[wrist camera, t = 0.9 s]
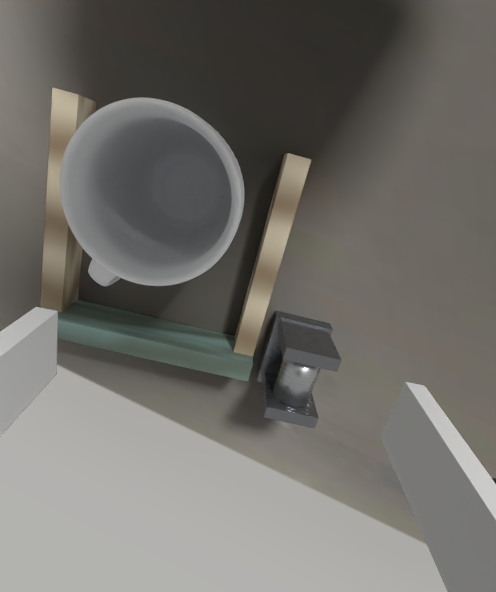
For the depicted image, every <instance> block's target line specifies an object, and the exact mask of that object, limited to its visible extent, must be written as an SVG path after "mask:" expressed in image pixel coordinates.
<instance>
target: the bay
mask: <svg viewBox="0 0 496 592" xmlns="http://www.w3.org/2000/svg"><path fill="white" fill-rule="evenodd" d="M96 107H97V102H95V101H93V100H90V99H88V98H85V97H83V96H81V95H78V94H74V93H71V92H67V91H63V90H60V89H56V88H53V90H52V108H51V125H50V143H49V160H48V178H47V195H46V213H45V230H44V248H43V265H42V283H41V300H40V308H45V309H50V310H55V311H58V325H57V339H60V340H64V341H69V342H73V343H78V344H82V345H87V346H91V347H96V348H100V349H105V350H109V351H114V352H118V353H123V354H127V355H131V356H136V357H140V358H145V359H149V360H154V361H158V362H163V363H167V364H172V365H176V366H181V367H185V368H190V369H194V370H199V371H203V372H208V373H212V374H216V375H221V376H225V377H230V378H234V379H239V380H243V381H248V379H249V376H250V372H251V369H252V366H253V354H254V351H255V348H256V344H257V341H258V337H259V334H260V331H261V327H262V324H263V321H264V317H265V314H266V311H267V307H268V304H269V300H270V297H271V294H272V290H273V287H274V284H275V280H276V277H277V274H278V270H279V267H280V263H281V260H282V257H283V253H284V250H285V247H286V243H287V240H288V236H289V233H290V230H291V226H292V223H293V220H294V216H295V213H296V210H297V206H298V203H299V199H300V196H301V193H302V189H303V186H304V183H305V179H306V176H307V173H308V169H309V166H310V162H311V159H308V158H304V157H300V156H297V155H293V154H290V153H287V154H284V157H283V161H282V164H281V168H280V172H279V175H278V179H277V183H276V186H275V190H274V194H273V198H272V201H271V205H270V209H269V212H268V216H267V220H266V223H265V227H264V231H263V234H262V238H261V242H260V246H259V249H258V253H257V257H256V260H255V264H254V268H253V271H252V275H251V279H250V282H249V286H248V290H247V293H246V297H245V301H244V305H243V308H242V312H241V316H240V319H239V323H238V327H237V330H236V334H235V336H232V335H228V334H224V333H219V332H215V331H211V330H207V329H202V328H198V327H194V326H189V325H185V324H181V323H177V322H172V321H168V320H164V319H159V318H155V317H151V316H147V315H142V314H138V313H134V312H129V311H125V310H121V309H117V308H112V307H108V306H104V305H99V304H95V303H91V302H87V301H82V300H78V294H79V283H80V273H81V262H82V252H83V248H82V247H81V245H80V244H79V242H78V241H77V239H76V238H75V236H74V234H73V233H72V231H71V229H70V227H69V225H68V222H67V219H66V217H65V213H64V210H63V206H62V202H61V195H60V182H59V181H60V169H61V163H62V159H63V156H64V152H65V150H66V147H67V145H68V143H69V141H70V139H71V138H72V136H73V134H74V133H75V132H76V130H77V129H78V128H79V126H80V125H81V124H82V123H83V122H84V121H85V120H86V119H87V118H88V117H89V116H90V115H92V114H93V113H95V112H96Z"/></svg>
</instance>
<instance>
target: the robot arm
mask: <svg viewBox="0 0 496 592" xmlns="http://www.w3.org/2000/svg"><path fill="white" fill-rule="evenodd" d="M57 325H58V311H55V310H50V309H45V308H40V307H35V308H34V309H32V310H31V311H29V312H28V313H26V314H25V315H24V316H22V317H21V318H19V319H18V320H16V321H15V322H13V323H12V324H11V325H9V326H8V327H6V328H5V329H3V330H2V331H1V332H0V436H1V435H2V434H3V433H4V432H5V431H6V430H7V429H8V428H9V426H10V425H11V424H12V423H13V422H14V421H15V420H16V419H17V418H18V416H19V415H20V414H21V413H22V412H23V411H24V410H25V409H26V408H27V406H28V405H29V404H30V403H31V402H32V401H33V400H34V399H35V397H37V395H38V394H39V393H40V392H41V391H42V390H43V389H44V388H45V387H46V385H47V384H48V383H49V382H50V381H51V380H52V379H53V377H54V376H56V373H57V371H56V370H57ZM380 438H381V440H382V443H383V445H384V447H385V449H386V452H387V454H388V456H389V459H390V461H391V463H392V465H393V468H394V470H395V472H396V475H397V477H398V479H399V482H400V484H401V486H402V488H403V491H404V493H405V495H406V498H407V500H408V502H409V504H410V507H411V509H412V511H413V514H414V516H415V518H416V520H417V523H418V525H419V527H420V530H421V532H422V534H423V536H424V539H425V541H426V543H427V546H428V547H429V550H430V552H431V555H432V557H433V559H434V561H435V564H436V566H437V568H438V571H439V573H440V575H441V577H442V580H443V582H444V584H445V587H446V589H447V591H448V592H496V479H494V478H491V477H490V475H489V474H488V473H487V471H486V470H485V469H484V467H483V466H482V464H481V463H480V462H479V460H478V459H477V457H476V456H475V455H474V453H473V452H472V451H471V449H470V448H469V446H468V445H467V444H466V442H465V441H464V440H463V438H462V437H461V435H460V434H459V433H458V431H457V430H456V429H455V427H454V426H453V424H452V423H451V422H450V420H449V419H448V417H447V416H446V415H445V413H444V412H443V411H442V409H441V408H440V406H439V405H438V404H437V402H436V401H435V400H434V398H433V397H432V395H431V394H430V393H429V391H428V390H427V389H426V387H425V386H423V385H418V384H413V383H408V382H405V384H404V386H403V388H402V390H401V393H400V395H399V397H398V399H397V401H396V403H395V406H394V408H393V410H392V412H391V414H390V416H389V418H388V421H387V423H386V425H385V427H384V429H383V431H382V434H381V436H380Z"/></svg>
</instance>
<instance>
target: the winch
mask: <svg viewBox="0 0 496 592" xmlns="http://www.w3.org/2000/svg"><path fill="white" fill-rule="evenodd" d="M332 331H333V329H332V327H331V325H330V324H329V323H325V322H320V321H316V320H312V319H308V318H304V317H300V316H296V315H291V314H287V313H283V312H279V311H276V312H275V315H274V319H273V322H272V325H271V328H270V332H269V335H268V338H267V341H266V345H265V348H264V351H263V354H262V358H261V361H260V364H259V368H258V371H257V381H258V382H262V397H263V417H264V418H269V419H274V420H278V421H283V422H288V423H292V424H297V425H301V426H306V427H311V428H315V426H316V423H317V421H318V415H317V411H316V407H315V404H314V400H313V396H312V390H313V387H314V384H315V382H316V379H317V376H318V374H319V371H320V368H323V369H327V370H331V371H336V372H337V370H338V368H339V365H340V363H341V358H340V356H339V354H338V352H337V350H336V347H335V345H334V343H333V341H332V339H331V337H330V336H331V333H332Z"/></svg>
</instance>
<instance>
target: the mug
mask: <svg viewBox="0 0 496 592" xmlns="http://www.w3.org/2000/svg"><path fill="white" fill-rule="evenodd" d="M59 182H60V195H61V202H62V206H63V210H64V213H65V217H66V219H67V222H68V225H69V227H70V229H71V231H72V233H73V234H74V236H75V238H76V239H77V241H78V242H79V244H80V245H81V247H82V248H83V249H84V250H85V252H86V253H87V254H88V255H89V256H90V257H91V258H92V261H91V263H90V266H89V269H88V273H89V275H90V276H91V277H92V278H93V280H94V281H95V282H97V283H98V284H100V285H102V286H110V285H111V284H113V283H115V282H116V281H118V280H119V279H120V278H122V279H124V280H127V281H130V282H133V283H137V284H142V285H148V286H168V285H175V284H179V283H182V282H186V281H188V280H191V279H193V278H195V277H197V276H199V275H201V274H203V273H204V272H206V271H207V270H208V269H210V268H211V267H212V266H213V265H214V264H215V263H216V262H217V261H218V260H219V259H220V258H221V257H222V256H223V255H224V253H225V252H226V250H227V249H228V248H229V246H230V244H231V242H232V240H233V238H234V236H235V234H236V232H237V230H238V226H239V223H240V221H241V217H242V213H243V208H244V191H245V190H244V181H243V177H242V173H241V170H240V166H239V164H238V161H237V159H236V158H235V156H234V153H233V152H232V150H231V148H230V146H229V145H228V144H227V143H226V142H225V140H224V138H223V137H221V135H220V134H219V133H218V131H216V130H215V129H214V128H213V127H212V126H211V125H210V124H208V123H207V122H205V121H204V120H203V119H202V118H200V117H199V116H198V115H196V114H195V113H193V112H191V111H190V110H188V109H186V108H184V107H182V106H180V105H177V104H174V103H172V102H169V101H165V100H160V99H154V98H143V97H140V98H129V99H124V100H120V101H117V102H113V103H111V104H108V105H106V106H104V107H102V108H100V109H99V110H97V111H96V112H95V113H93V114H92V115H90V116H89V117H88V118H87V119H86V120H85V121H84V122H83V123H82V124H81V125H80V126H79V128H78V129H77V130H76V132H75V133H74V134H73V136H72V138H71V139H70V141H69V143H68V145H67V147H66V150H65V152H64V156H63V159H62V163H61V169H60V181H59Z"/></svg>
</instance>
